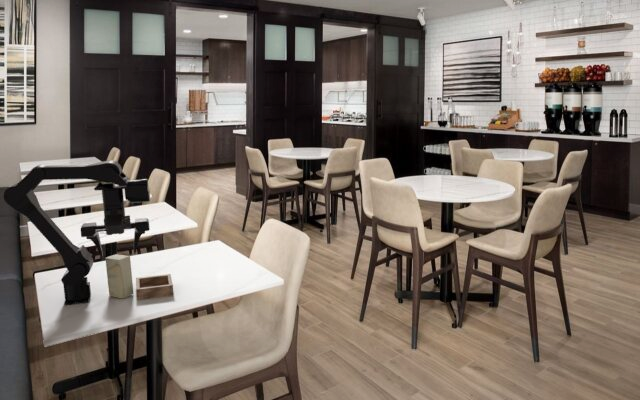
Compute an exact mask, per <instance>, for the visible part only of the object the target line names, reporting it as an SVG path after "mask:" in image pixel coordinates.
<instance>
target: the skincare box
mask: <svg viewBox="0 0 640 400" xmlns="http://www.w3.org/2000/svg"><path fill="white" fill-rule="evenodd" d="M131 262H132V261H131V255H126V254H125V255H124V254H118V253H115V254H113V255H109V256H107V257H105V268H106V275H107V276H106V277H107V285H108V286H107V287H108V295H109V297H114V298H119V299H125V298H127V297H130V296H133V295H134V285H133V273H132V263H131Z"/></svg>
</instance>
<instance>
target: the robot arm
mask: <svg viewBox="0 0 640 400" xmlns="http://www.w3.org/2000/svg"><path fill="white" fill-rule="evenodd" d="M46 180H49V181H50V180H57V181H58V180H91V181H95V182H98V183H97V184H96V186H95V187H94V188H93V191H101V196H102V206H103V207H102V208H103V224H100V225H99V224H98V225H97V222H95V221H94V222H85V223H83V224H82V225H81V226H80V236H81V238H86V239H87V240H91V242H92V243H93V244H94V246H95V248H96V250H97V251H98V253H99V256H100V258H103V256H104V253H103V247H102V243H101V238H100V234H99V232H100V233H101V232H102V233H103V232H105V234H106V236H112V235H122V234H124V233H125V230H131V229H134V237H133V254H136V253H137V249H138V244H139V241H140V240H141V236H142V235H143V234H144V235H145V233H146V232H149V231H150V221H149V218H147V217H143V218H134V221H132V222H131V215H129V214H128V215H126V209H125V201H128V202H129V203H130V204H134V203H149V202H151V193H150V192H151V190H150V188H149V180H148V178H142V179H134V180H133V179H132V180H131V179H130V178H129V177H128V176H127V175H126V174H125V173H124V172H123V169H122V166H121V164H120V163H119V162H118V161H117V160H104V161H98V162H96V163H95V162H94V163H91V164H66V165H65V164H64V165H63V164H60V165H58V164H57V165H53V164H52V165H44V164H38V165H36V166H35V167H33V168H32V169H31V170H30V172H29V173H27V174H26V175H25V176H24V177H22V179H21V180H20V181H19V182H17V183H14V184H13V185H11V186H9V187H7V188H6V189H5V190H4V192H3V198H2V199H3V201H4V202H5V204H7V205H8V206H9V207H10V208H12V210H14V211H15V212H17V213H19V214H20V215H23V217H26V218H27V219H28V220H29V221H30V223H31V224H33V225H34V227H36V229H37V230H38V231H39V232H40V234H41V235H42V236H43V237H44V238H45V239H46V240H47V241H48V242H49V244H50V245H51V246H52V247H53V248H54V249H55V250H56V251H57V253H59V255H60V257H61V259H62V262H63V264H64V267H65V268H66V270H65V273H64V274H63V276H62V277H61V280H60V281H61V283H62V285H63V293H64V294H63V295H64V302H63V303H64V306H65V305H67V306H68V305H74V304H80V303H81V304H82V303H88V302H90V301H89V300H90V298H91V296H92V290H91V282H90V281H88V276H87V275H89V273H90V272H91V270H92V267H93V265H94V258H93V254H92V253H91V252H90V251H88V249H87V248H86V246H85V245H84V244H82V245H81V246H80V247H79V246H77V245H75V244H74V243H73V241H71V240H70V239H69V237H67V235H66V234H65V233H64V232H63V231H62V230H61V228H60V227H59V226H58V225H57V224H56V223H55V222H54V220H53V219H52V218H51V217H50V216H49V215H48V214H47V212H46V211H45V210H44V209H43V208H42V207H41V204H40V202H39V199H38V197H37V195H36V194H35V192H34V190H35V189H36V188H37V187H38V186H39V185H40V184H41V183H42V182H43V181H46ZM124 198H125V200H124Z"/></svg>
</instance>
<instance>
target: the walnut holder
mask: <svg viewBox="0 0 640 400" xmlns="http://www.w3.org/2000/svg"><path fill="white" fill-rule="evenodd" d="M135 290H136V291H135V292H136V301H139V300H140V301H141V300H149V299H157V298H165V297H173V296H174V285H173V280H172V275H171V273H168V274H158V275H151V276H150V275H149V276H141V277H136V278H135Z"/></svg>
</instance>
